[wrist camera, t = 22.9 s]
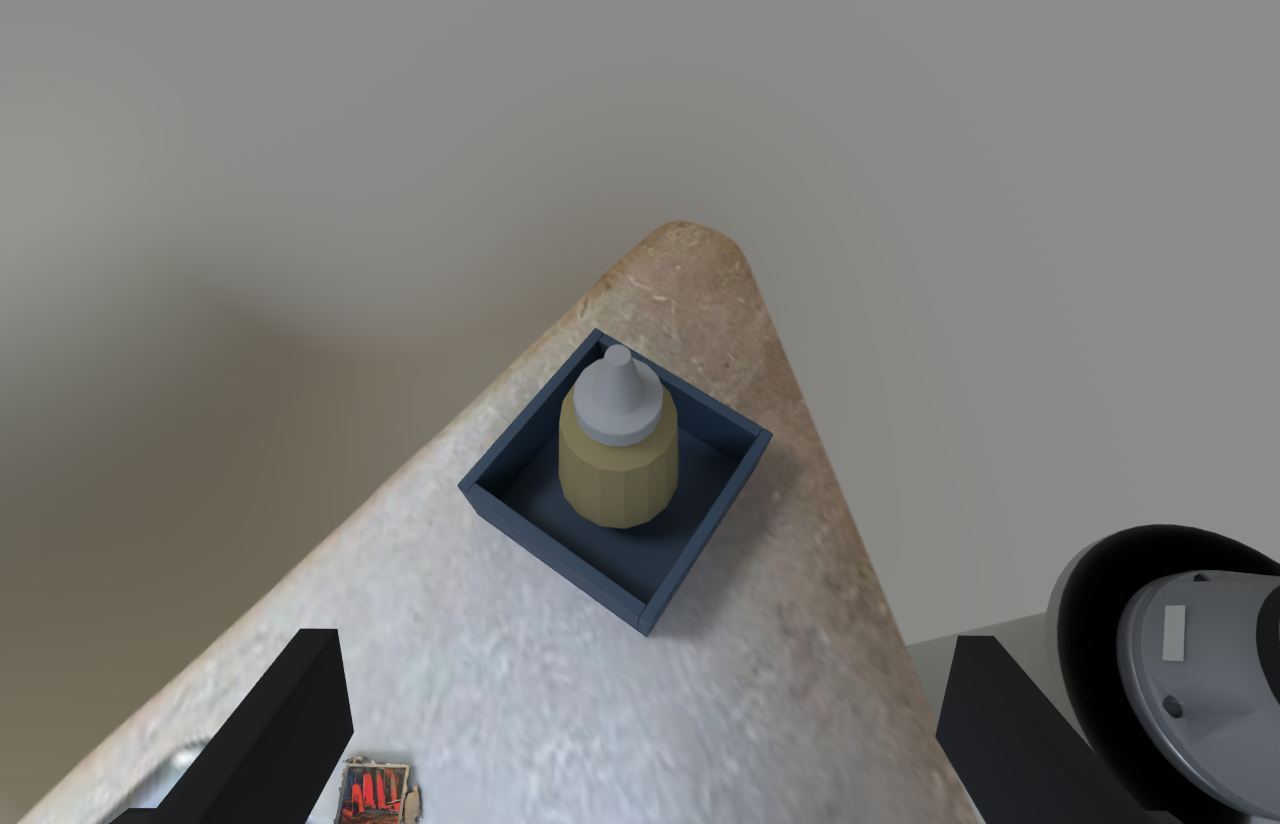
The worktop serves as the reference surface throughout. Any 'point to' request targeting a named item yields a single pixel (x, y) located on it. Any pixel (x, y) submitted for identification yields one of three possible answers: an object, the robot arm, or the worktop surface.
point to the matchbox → (376, 794)
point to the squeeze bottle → (618, 442)
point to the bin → (604, 556)
